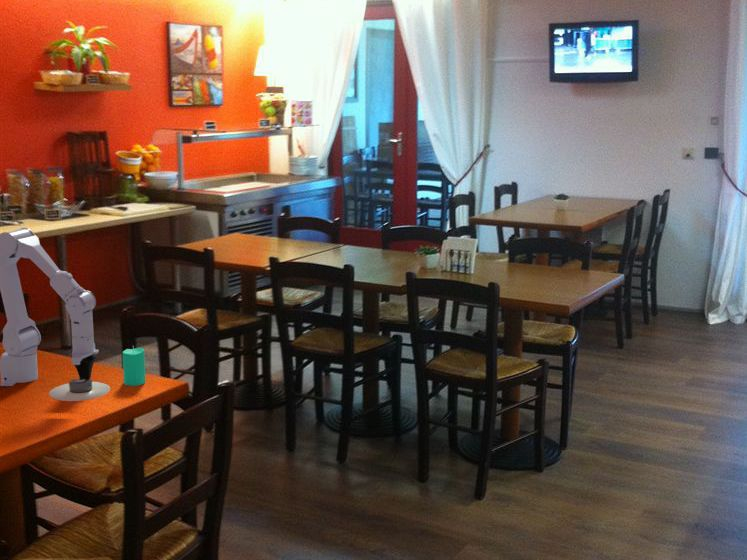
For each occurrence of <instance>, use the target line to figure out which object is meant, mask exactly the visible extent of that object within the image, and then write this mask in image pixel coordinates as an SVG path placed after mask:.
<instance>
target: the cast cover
mask: <svg viewBox="0 0 747 560" xmlns="http://www.w3.org/2000/svg"><path fill="white" fill-rule="evenodd" d="M92 382H93V379H91V378H90V379H88V378H80V377H78V378H74V379H71V380H70V381H69V382H68V383H69V390H70V392H71V393H86V392H89V391H91V390H92Z"/></svg>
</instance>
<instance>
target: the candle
mask: <svg viewBox="0 0 747 560" xmlns="http://www.w3.org/2000/svg"><path fill="white" fill-rule="evenodd" d="M134 347H135V346H134V345H132V348H131V349H130V348H126V349H125V350H123V351H122V367H123V368H122V370H123V384H124V385H126V386H132V387H134V386H135V387H136V386H141V385H143V384H145V383H146V363H145V349H144V348H142V347H136V348H134Z"/></svg>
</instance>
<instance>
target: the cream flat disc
mask: <svg viewBox="0 0 747 560" xmlns="http://www.w3.org/2000/svg"><path fill="white" fill-rule="evenodd" d="M110 391H111V387H110V386H109V385H108V384H106V383H103V382H99V381H92V390H91V391H89V392H86V393H71V392H70V390H69V382H68V383H64V384H61V385H58V386H56V387H54V388H52V389H51V390H50V391H49V393H48V395H49V397H50V398H52V399H55V400H59V401H63V402H80V401H82V402H83V401H88V400H93V399H97V398H100V397H103V396H105V395H107V394H108V393H109V392H110Z"/></svg>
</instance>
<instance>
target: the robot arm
mask: <svg viewBox="0 0 747 560" xmlns="http://www.w3.org/2000/svg"><path fill="white" fill-rule="evenodd" d="M20 258H24V259H29V260H30V261H31V262H33V264H35V266H37V267H38V268H39V269H40V270H41V271H42V272H43V273H44V274H45V275H46V276H47V277H48V278H49V279H50V280H49V285H50V287H52V289H53V290H54V291H55V292H56V293H57V295H59V296H60V298H61V299H62V300H63V301H64V302H65V310H66V311H67V313H68V314H69V319H70V322H71V323H70V326H71V342H72V351H71V353H72V354H71V355H72V357H71V365H72V366H74V367H75V369H76V371H77V374H78V378H88V379H91V378H92V372H93V371H92V370H93V366H94V363H95V361H96V359H97V356H96V355H97V354H98V353H99V351H100V350H99V349H96V343H95V341H94V340H95V338H94V335H95V334H94V320H93V319H94V317H93V309H94V308H95V307H96V305H97V300H96V297H95V295H94V293H93V292H92V291H90V290H86V289H84V287H82V286H80V284H78V283H77V281H76V280H75V279H74V278H73V275H72V273H71V272H68V271H65V270H61V269H60V268H59V267H58V266H57V265H56V263H55V262H54V260H53V259H52V258H51V257H50V255H49V254H48V253H47V252H46V251H45V249H44V247H43V246H42V245H41V243H40V238H39V237H38V236H37V235H36V234H35V233H34V232H33V230H32V229H30V228H28V227H21V228H20V229H19V228H18V229H14V230H11V231H7V232H6V231H3V232H0V294H1V298H2V303H3V304H2V305H3V307H4V313H5V316H6V320H7V322H6V324H5V325H4V327H3V329H2V334H3V336H2V343H1V344H2V347H3V349H4V351H5V352H2V354H1V356H0V382H1V383H0V387H13V386H14V385H16V383H18V384H19V383H20V384H22V383H23V384H24V383H30V382H33V381H36V380H38V378H39V374H38V373H39V371H38V357H37V356H38V354H37V350H38V346H39V345H40V343H41V341H42V336H41V333H40V330H39V329H38V327H37V326H36V322H35V320H33V319H31V318H30V317H29V315H28V312H27V311H28V310H27V307H26V303H25V297H24V293H23V289H22V284H21V279H20V275H19V271H18V267H17V263H18V261H19V260H20Z"/></svg>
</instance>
